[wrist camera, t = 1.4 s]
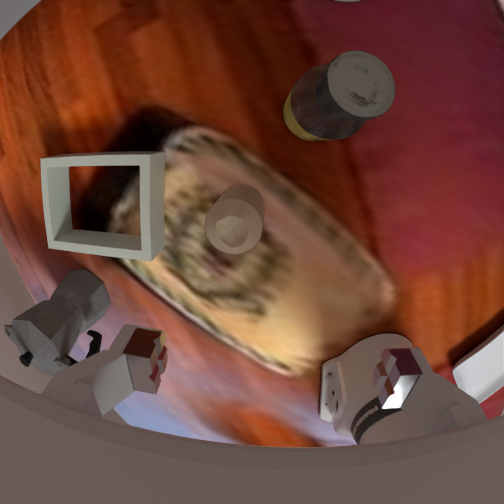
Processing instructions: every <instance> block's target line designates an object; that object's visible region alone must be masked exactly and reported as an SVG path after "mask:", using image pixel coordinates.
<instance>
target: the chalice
mask: <svg viewBox="0 0 504 504" xmlns="http://www.w3.org/2000/svg"><path fill="white" fill-rule="evenodd" d="M335 1H342V2H356V1H361V0H335Z"/></svg>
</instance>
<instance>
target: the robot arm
mask: <svg viewBox="0 0 504 504" xmlns="http://www.w3.org/2000/svg"><path fill="white" fill-rule="evenodd" d="M165 341H166V334H165V332H164V331H162V330H157V329H152V328H147V327H142V326H136V325H131V324H125V325H124V326H123V327H122V329H121V330H120V332H119V333H118V335H117V337H116V338H115V340H114V341H113V343H112V345H111V346H110V348H109V350H103V351H101V352H99V353H96V354H94V355H92V356H90V357H88V358H86V359H84V360H82V361H80V362H78V363H76V364H74V365H72V366H69V367H67V368H65V369H63V370H61V371H59V372H57V373H55V374H54V376H53V377H52V379H51V380H50V382H49V383H48V385H47V386H46V388H45V389H44V391H43V392H42V394H41V395H40V394H38V393H36V392H33V391H31V390H29V389H27V388H25V387H23V386H20V385H18V384H16V383H14V382H12V381H10V380H8V379H6V378H4V377H2V376H1V375H0V504H504V414H503V415H500V416H497V417H494V418H491V419H487V418H486V416H485V414H484V412H483V410H482V408H481V407H480V405H479V403H478V401H477V400H476V399H475V398H473V397H472V396H470V395H469V394H467V393H466V392H464V391H463V390H461V389H460V388H458V387H457V386H455V385H454V384H452V383H451V382H449V381H448V380H446V379H445V378H443V377H442V376H440V375H439V374H437V373H436V374H434V372H433V370H432V369H431V367H430V365H429V363H428V362H427V360H426V358H425V356H424V355H423V353H422V351H421V349H420V348H418V347H413V345H412V343H411V342H410V341H409V340H408V339H407V338H405V337H403V336H401V335H398V334H379V335H375V336H371V337H369V338H366V339H364V340H362V341H360V342H358V343H356V344H355V345H353V346H352V347H351V348H349V349H348V350H347V351H346V352H345V353H343V354H342V355H340V356H338V357H336V358H333V359H331V360H329V361H327V362H325V363H324V364H323V366H322V378H321V396H320V411H319V414H320V418H321V419H322V420H325V421H328V422H332V423H333V424H334V429H335V431H336V432H337V433H338V434H340V435H343V436H348V437H353V439H354V440H355V441H356V443H357V445H352V446H336V447H268V446H252V445H240V444H230V443H221V442H213V441H206V440H199V439H193V438H187V437H181V436H175V435H170V434H165V433H160V432H156V431H151V430H147V429H143V428H139V427H135V426H131V425H127V424H123V423H120V422H116V421H113V420H109V419H106V418H103V416H102V415H104V414H105V413H106V412H107V411H109V410H110V409H111V408H113V407H114V406H116V405H117V404H118V403H119V402H121V401H122V400H123V399H125V398H126V397H127V396H129V395H130V394H131V393H133V392H134V390H136V391H141V392H146V393H151V394H156V393H157V390H158V388H159V385H160V382H161V379H160V375H161V374H163V373H164V371H165V368H166V364H167V348H166V347H165V346H164V344H165ZM329 372H331V373H329Z"/></svg>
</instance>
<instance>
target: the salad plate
mask: <svg viewBox="0 0 504 504" xmlns="http://www.w3.org/2000/svg"><path fill="white" fill-rule="evenodd" d="M452 373H453V376H454V379H455V381H456V383H457V386H458V388H460V389H461V390H463V391H464V392H466V393H467V394H469V395H470V396H472V397H473V398H475V399H476V400H477V401H478V403H479V404H480V403H481V402H483V401H484V400H485V399H487V398H488V397H489V396H491V395H492V394H494V393H495V392H496V391H497V390H499V389H500V388H501V387H502V386H504V325H503V326H501V327H500V328H499V329H498V330H497V331H496V332H494V333H493V334H492V335H491V336H490V337H488V338H487V339H486V340H485V341H483V342H482V343H481V344H480V345H479V346H477V347H476V348H475V349H474V350H472V351H471V352H470V353H468V354H467V355H465V356H464V357H463V358H462V359H460V360H459V361H458V362H457V363H456V364H455V366H454V367H453V370H452Z"/></svg>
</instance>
